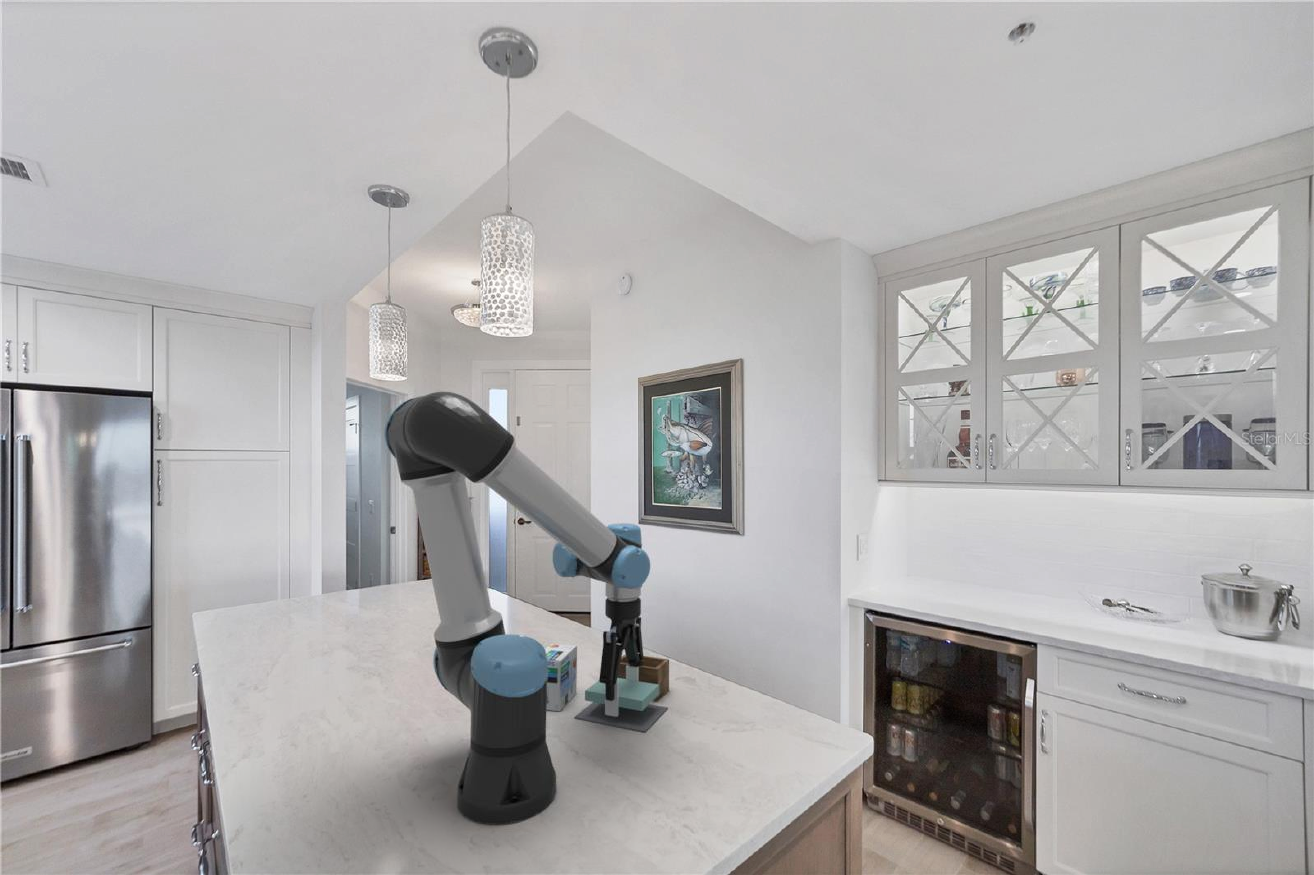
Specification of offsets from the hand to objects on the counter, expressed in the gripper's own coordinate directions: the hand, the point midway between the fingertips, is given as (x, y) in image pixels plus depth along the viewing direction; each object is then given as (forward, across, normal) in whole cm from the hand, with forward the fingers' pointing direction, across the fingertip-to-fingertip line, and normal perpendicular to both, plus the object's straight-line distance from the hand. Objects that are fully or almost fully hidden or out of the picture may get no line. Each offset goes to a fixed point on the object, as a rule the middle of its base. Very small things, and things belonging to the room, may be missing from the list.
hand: (622, 705), depth 121 cm
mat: (+2, 0, 0) cm, 2 cm away
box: (+2, +12, +1) cm, 12 cm away
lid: (-1, 0, 0) cm, 1 cm away
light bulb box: (+2, 0, +16) cm, 17 cm away
